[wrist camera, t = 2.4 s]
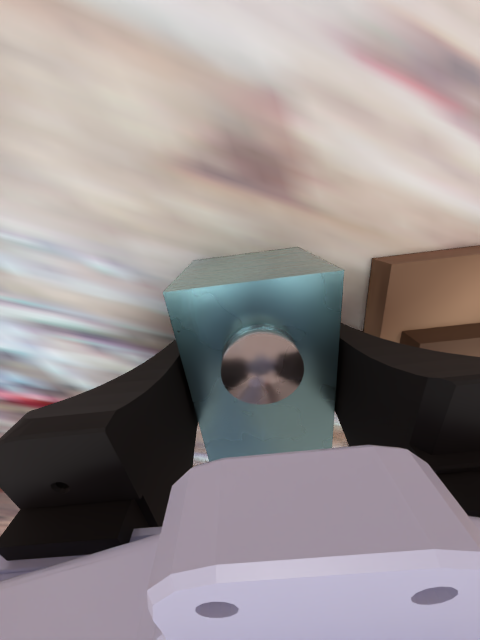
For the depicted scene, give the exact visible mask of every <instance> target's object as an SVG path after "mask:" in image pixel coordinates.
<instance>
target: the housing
mask: <svg viewBox="0 0 480 640" xmlns="http://www.w3.org/2000/svg"><path fill="white" fill-rule="evenodd" d="M343 279H344V270H343V269H341V268H339V267H337V266H335V265H333V264H331V263H329V262H327V261H325V260H323V259H321V258H319V257H317V256H315V255H313V254H311V253H309V252H307V251H305V250H303V249H301V248H299V247H295V248H287V249H279V250H272V251H264V252H256V253H248V254H240V255H232V256H225V257H217V258H209V259H201V260H194V261H193V262H192V263H191V264H190V265H189V266H188V267H187V268H186V269H185V270H184V271H183V272H182V273H181V274H180V275H179V276H178V277H177V278H176V279H175V280H174V281H173V282H172V283H171V284H170V285H169V287H168V288H167V289H166V290H165V291H164V292H163V295H164V298H165V302H166V306H167V309H168V313H169V317H170V320H171V324H172V327H173V331H174V335H175V338H176V342H177V346H178V349H179V353H180V357H181V360H182V364H183V367H184V371H185V375H186V378H187V382H188V386H189V389H190V393H191V397H192V400H193V404H194V408H195V411H196V415H197V418H198V422H199V426H200V429H201V433H202V437H203V440H204V444H205V448H206V451H207V455H208V458H209V462H211V461H214V460H218V459H221V458H228V457H239V456H251V455H262V454H273V453H284V452H295V451H306V450H317V449H328V448H332V439H333V425H334V410H335V396H336V381H337V366H338V352H339V337H340V323H341V308H342V294H343Z"/></svg>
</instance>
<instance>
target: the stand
mask: <svg viewBox="0 0 480 640" xmlns="http://www.w3.org/2000/svg"><path fill="white" fill-rule="evenodd" d="M363 332H365V333H367V334H370V335H373V336H376V337H379V338H382V339H386V340H390V341H393V342H397V343H400V344H405V345H409V346H413V347H418V348H423V349H428V350H433V351H439V352H446V353H452V354H460V355H467V356H475V357H480V246H471V247H463V248H455V249H446V250H438V251H430V252H421V253H413V254H405V255H396V256H388V257H380V258H372V266H371V274H370V282H369V290H368V298H367V306H366V315H365V323H364V331H363ZM349 447H350V446H349Z"/></svg>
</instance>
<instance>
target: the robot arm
mask: <svg viewBox="0 0 480 640" xmlns="http://www.w3.org/2000/svg"><path fill="white" fill-rule="evenodd" d="M335 412H336V414H337V416H338V419H339V421H340V424H341V426H342V429H343V431H344V434H345V436H346V439H347V441H348V444H349V446H350V447H340V448H328V449H317V450H306V451H295V452H284V453H273V454H262V455H251V456H239V457H228V458H221V459H218V460H214V461H211V462H207V463H203V464H200V465H196V466H194V467H193V457H194V447H195V439H196V431H197V425H198V418H197V415H196V411H195V408H194V404H193V400H192V397H191V393H190V389H189V386H188V382H187V378H186V375H185V371H184V367H183V364H182V360H181V357H180V353H179V349H178V346H177V342H176V340H174V341H173V342H172V343H171V344H169V345H168V346H167V347H166V348H164V349H163V350H161V351H160V352H159V353H157V354H156V355H155V356H153V357H152V358H150V359H149V360H147V361H146V362H144V363H143V364H141V365H139V366H138V367H136V368H134V369H133V370H131V371H129V372H127V373H125V374H123V375H121V376H119V377H117V378H115V379H113V380H111V381H109V382H107V383H105V384H103V385H101V386H98V387H96V388H94V389H91V390H89V391H86V392H84V393H81V394H79V395H76V396H74V397H71V398H68V399H65V400H62V401H59V402H57V403H54V404H51V405H48V406H45V407H42V408H39V409H35V410H32V411H29V412H28V413H27V414H25V415H24V416H23V417H22V418H21V419H20V420H19V421H18V422H17V423H16V424H15V425H14V426H13V427H12V428H11V429H10V430H8V431H7V432H6V433H5V434H4V435H3V436H2V437H1V438H0V488H1V489H2V490H3V491H4V492H5V493H6V494H7V495H8V496H9V498H10V499H11V500H12V501H13V502H14V503H15V504H16V505H17V506H18V507H19V508H20V509H21V510H20V511H19V512H18V514H17V515H16V516H15V518H14V519H13V520H12V522H11V523H10V524H9V526H8V527H7V529H6V530H5V531H4V533H3V534H2V535H1V537H0V640H480V357H475V356H467V355H460V354H452V353H446V352H439V351H433V350H428V349H423V348H418V347H413V346H409V345H405V344H400V343H397V342H393V341H390V340H386V339H382V338H379V337H376V336H373V335H370V334H367V333H365V332H362V331H359V330H357V329H354V328H352V327H349V326H347V325H344V324H342V323H340V337H339V352H338V366H337V381H336V396H335ZM192 467H193V468H192Z"/></svg>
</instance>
